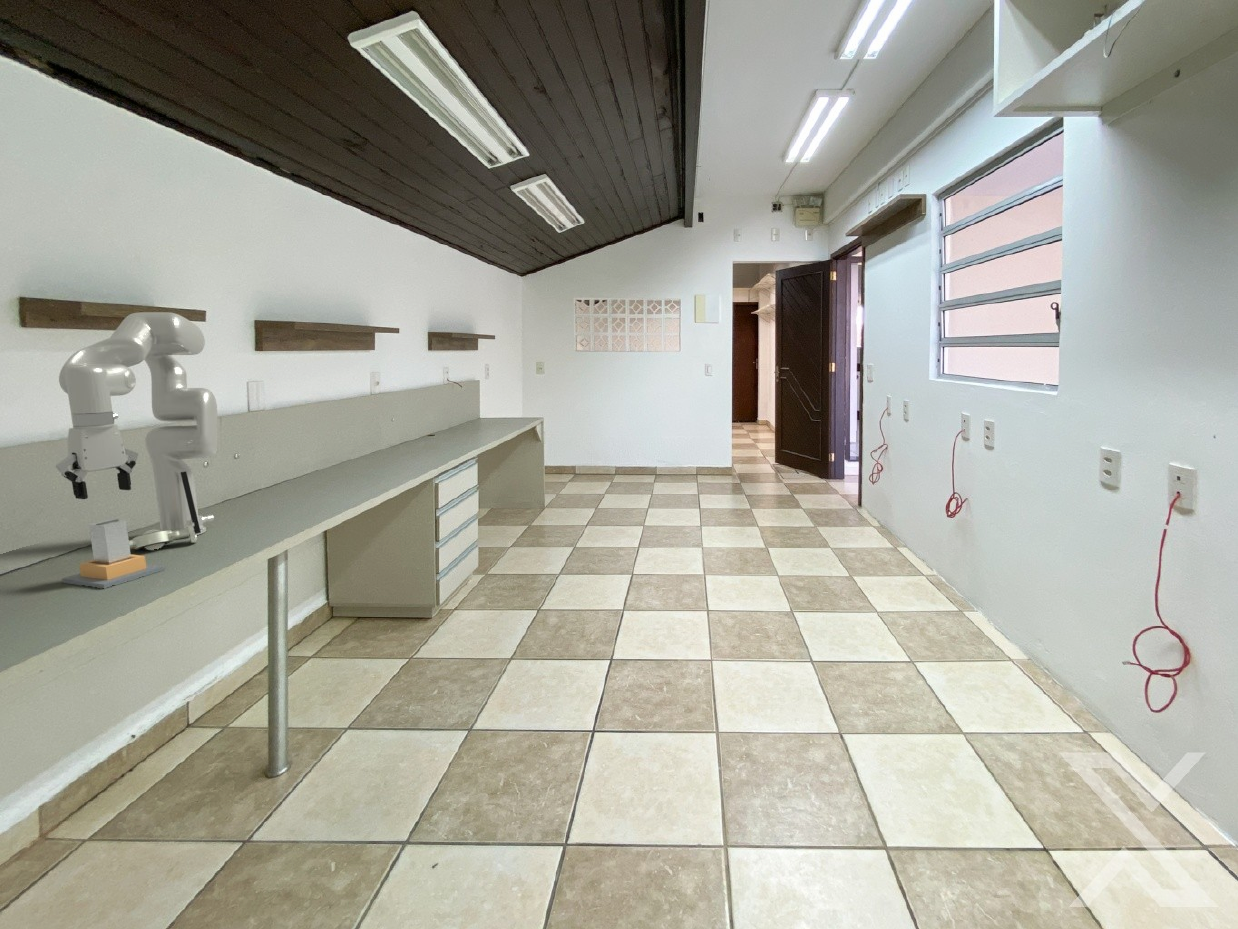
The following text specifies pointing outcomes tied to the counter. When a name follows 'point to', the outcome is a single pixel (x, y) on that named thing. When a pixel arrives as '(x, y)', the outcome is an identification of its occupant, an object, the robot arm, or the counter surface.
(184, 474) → the butterfly valve
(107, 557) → the block
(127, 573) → the collar plate
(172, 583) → the counter surface
